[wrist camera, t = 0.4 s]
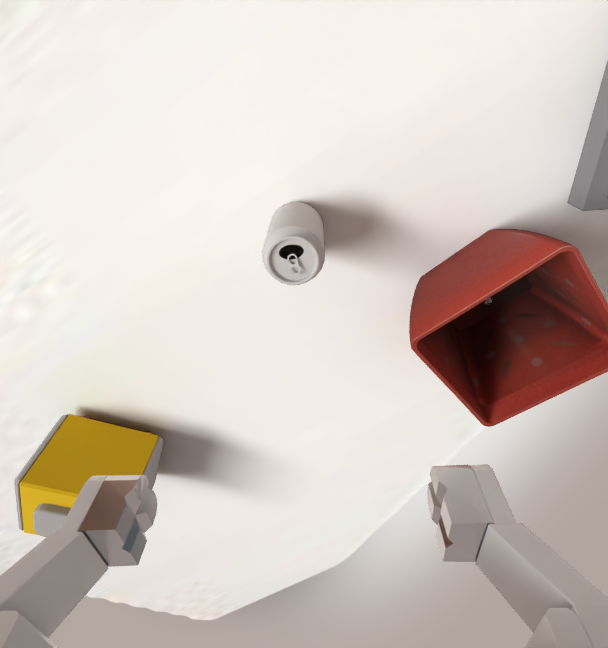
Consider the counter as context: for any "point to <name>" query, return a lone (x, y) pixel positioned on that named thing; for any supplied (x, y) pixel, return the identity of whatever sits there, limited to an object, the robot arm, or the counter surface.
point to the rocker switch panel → (594, 159)
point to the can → (294, 244)
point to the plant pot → (510, 322)
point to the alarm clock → (79, 467)
